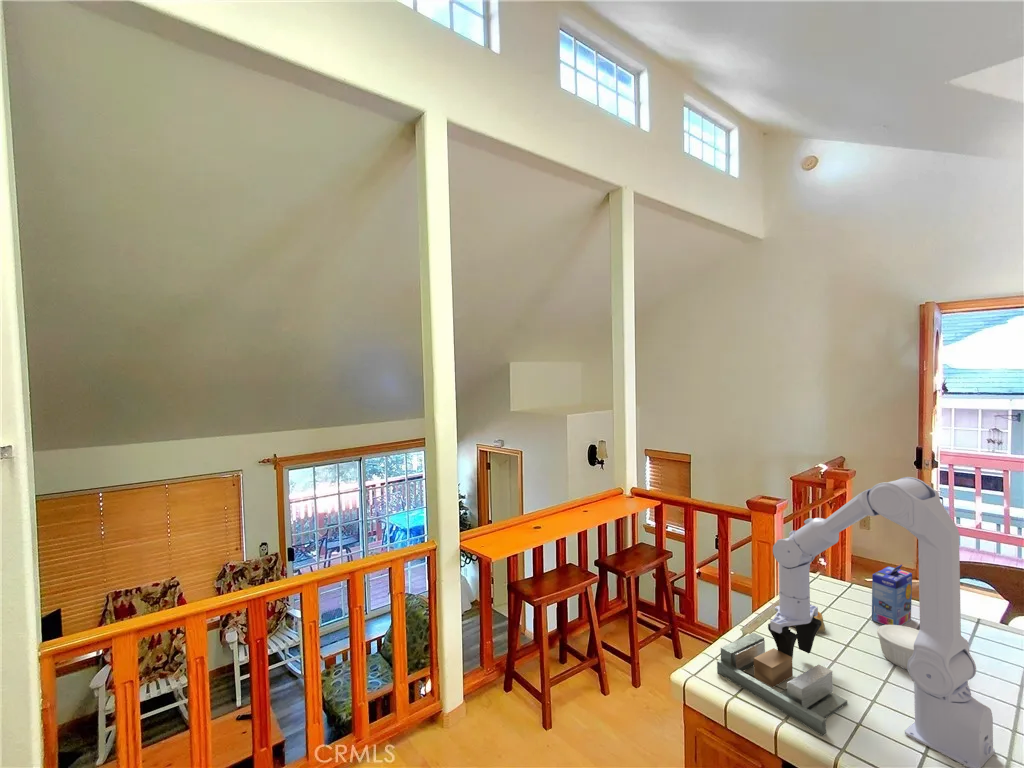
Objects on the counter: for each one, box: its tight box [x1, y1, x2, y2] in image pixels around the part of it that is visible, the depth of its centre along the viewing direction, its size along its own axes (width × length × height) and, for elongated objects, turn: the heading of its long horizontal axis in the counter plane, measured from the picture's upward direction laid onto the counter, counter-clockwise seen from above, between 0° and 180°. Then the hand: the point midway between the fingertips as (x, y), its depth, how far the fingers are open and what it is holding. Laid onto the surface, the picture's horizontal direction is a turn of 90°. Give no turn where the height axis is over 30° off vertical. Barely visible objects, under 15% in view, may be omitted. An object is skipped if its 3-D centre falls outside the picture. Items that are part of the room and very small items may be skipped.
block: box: [753, 647, 794, 689], centre depth 99 cm, size 4×7×4 cm, turn 119°
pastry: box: [792, 611, 826, 633], centre depth 120 cm, size 9×7×4 cm
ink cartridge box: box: [871, 564, 913, 626], centre depth 121 cm, size 10×6×14 cm, turn 122°
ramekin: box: [876, 625, 920, 671], centre depth 103 cm, size 11×11×5 cm
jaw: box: [786, 664, 834, 708], centre depth 91 cm, size 3×11×4 cm, turn 120°
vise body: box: [716, 632, 848, 736], centre depth 95 cm, size 21×13×5 cm, turn 30°
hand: (795, 655), depth 103 cm, fingers open, 7 cm apart
